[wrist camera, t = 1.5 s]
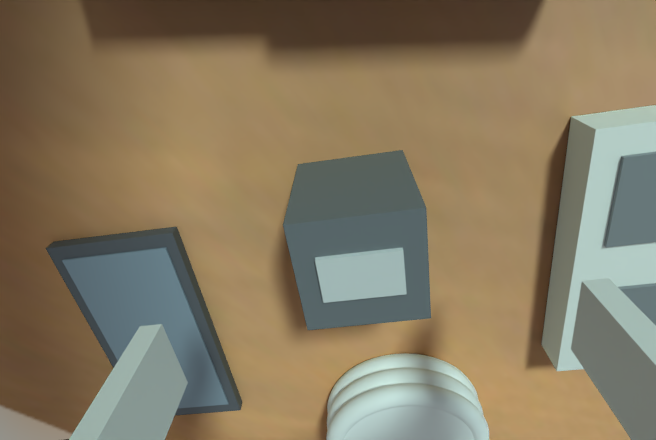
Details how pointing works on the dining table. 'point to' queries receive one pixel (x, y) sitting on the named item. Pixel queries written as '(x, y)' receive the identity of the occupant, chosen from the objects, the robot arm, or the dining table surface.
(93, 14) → the dining table surface
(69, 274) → the phone
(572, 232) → the plate
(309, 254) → the block
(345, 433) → the coaster
